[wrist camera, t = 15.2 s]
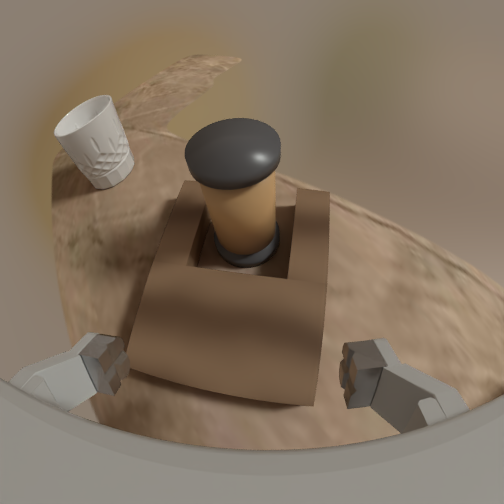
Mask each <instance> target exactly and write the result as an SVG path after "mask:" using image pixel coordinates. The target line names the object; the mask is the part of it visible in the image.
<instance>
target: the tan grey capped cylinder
mask: <svg viewBox="0 0 504 504" xmlns="http://www.w3.org/2000/svg"><path fill="white" fill-rule="evenodd" d="M280 149H281V142H280V138H279V135H278V134H277V132H276V131H275V130H274V129H273V128H272V127H271V126H269V125H267V124H266V123H263V122H260V121H258V120H253V119H247V118H233V119H226V120H222V121H218V122H215V123H212V124H210V125H208V126H206V127H204V128H202V129H201V130H199V131H198V132H197V133H196V134H195V135H193V136H192V138H191V139H190V140H189V142H188V143H187V145H186V148H185V159H186V162H187V165H188V168H189V171H190V173H191V175H192V176H193V178H194V179H195V180H196V181H198V182H199V183H200V187H201V190H202V193H203V196H204V199H205V202H206V205H207V208H208V211H209V214H210V217H211V220H212V223H213V226H214V229H215V233H214V240H215V244H216V247H217V250H218V252H219V254H220V255H221V257H222V258H223V259H224V260H225V261H226V262H228V263H229V264H232V265H234V266H237V267H242V268H251V267H256V266H259V265H261V264H263V263H265V262H267V261H268V260H269V259H270V258H271V257H272V256H273V255H274V254H275V252H276V251H277V248H278V246H279V235H280V232H279V227H278V224H277V222H276V209H275V169H276V168H277V166H278V164H279V162H280V155H281V154H280V153H281V152H280Z"/></svg>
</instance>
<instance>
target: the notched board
mask: <svg viewBox="0 0 504 504" xmlns="http://www.w3.org/2000/svg"><path fill="white" fill-rule="evenodd" d="M329 215H330V192H326V191H318V190H309V189H300V188H297V197H296V207H295V217H294V226H293V236H292V244H291V253H290V262H289V270H288V278H287V279H283V278H274V277H266V276H258V275H250V274H243V273H235V272H227V271H220V270H213V269H205V268H198V267H197V265H198V262H199V258H200V254H201V251H202V248H203V244H204V241H205V237H206V234H207V230H208V227H209V224H210V221H211V217H210V214H209V211H208V208H207V205H206V202H205V199H204V196H203V193H202V190H201V187H200V183H199V182H198V181H184V183H183V185H182V188H181V190H180V192H179V195H178V197H177V200H176V202H175V205H174V207H173V210H172V212H171V215H170V217H169V220H168V222H167V225H166V228H165V230H164V233H163V236H162V238H161V241H160V244H159V247H158V249H157V252H156V255H155V258H154V261H153V264H152V267H151V270H150V272H149V276H148V279H147V282H146V285H145V288H144V291H143V294H142V298H141V301H140V304H139V308H138V311H137V314H136V318H135V321H134V325H133V329H132V332H131V336H130V340H129V344H128V348H127V352H126V354H127V355H128V357H129V360H130V368H131V369H134V370H137V371H140V372H143V373H146V374H149V375H152V376H155V377H159V378H162V379H165V380H169V381H172V382H176V383H180V384H183V385H187V386H191V387H195V388H199V389H203V390H208V391H212V392H217V393H222V394H227V395H232V396H237V397H243V398H248V399H255V400H261V401H268V402H276V403H284V404H293V405H303V406H314V399H315V393H316V386H317V379H318V372H319V364H320V356H321V347H322V338H323V328H324V317H325V305H326V292H327V275H328V255H329Z"/></svg>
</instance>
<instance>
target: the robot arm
mask: <svg viewBox="0 0 504 504" xmlns="http://www.w3.org/2000/svg"><path fill="white" fill-rule="evenodd" d="M124 348H125V345H124V342H123V339H122V338H120V337H117V336H111V335H105V334H99V333H93V332H89V333H87V334H86V335H85V336H84V337H83V338H82V339H81V340H80V341H79V342H78V343H77V344H76V345H75V346H74V347H73V348H72V349H71V350H70V351H69V352H63V353H61V354H58V355H56V356H53V357H50V358H47V359H45V360H42V361H40V362H37V363H34V364H32V365H29V366H26V367H24V368H22V369H21V370H20V371H19V372H18V373H17V374H16V375H15V376H14V377H13V378H12V379H11V380H10V381H9V382H6V381H4V380H3V379H1V378H0V504H504V394H503V395H501V396H499V397H497V398H495V399H493V400H491V401H489V402H487V403H485V404H483V405H481V406H479V407H477V408H474V409H472V410H470V409H469V408H468V406H467V405H466V403H465V402H464V400H463V399H462V397H461V396H460V394H459V393H458V391H457V390H456V389H455V388H453V387H451V386H449V385H447V384H445V383H443V382H441V381H439V380H437V379H435V378H433V377H431V376H429V375H427V374H425V373H423V372H421V371H419V370H417V369H415V368H413V367H411V366H409V365H407V364H401V362H400V361H399V359H398V357H397V356H396V354H395V352H394V351H393V349H392V348H391V346H390V344H389V343H388V341H387V339H385V338H379V339H372V340H367V341H358V342H348V343H344V345H343V350H342V354H343V357H344V359H343V360H342V361H341V362H340V368H339V379H340V384H341V387H342V388H344V389H345V392H344V399H345V402H346V406H347V409H351V408H360V407H367V406H371V408H372V409H373V410H374V411H375V412H377V413H378V414H379V415H380V416H381V417H382V418H384V419H385V420H386V421H387V422H388V423H390V424H391V425H392V426H393V427H394V428H395V429H397V430H398V431H399V432H400V433H401V434H398V435H394V436H389V437H385V438H380V439H376V440H370V441H365V442H359V443H353V444H347V445H339V446H331V447H322V448H310V449H294V450H243V449H227V448H215V447H206V446H197V445H190V444H183V443H177V442H171V441H166V440H161V439H156V438H151V437H147V436H142V435H138V434H134V433H130V432H126V431H123V430H119V429H116V428H112V427H109V426H106V425H103V424H100V423H97V422H94V421H91V420H88V419H85V418H82V417H80V416H77V415H74V414H72V413H69V412H68V411H70V410H71V409H73V408H74V407H76V406H78V405H79V404H81V403H82V402H84V401H85V400H87V399H88V398H90V397H91V396H93V395H95V394H96V393H97V392H100V393H104V394H109V395H113V396H115V394H116V393H117V391H118V389H119V388H120V386H121V380H123V379H124V378H126V377H127V375H128V374H129V370H130V360H129V357H128V355H127V354H126V353H125V352H124V351H123V350H124Z"/></svg>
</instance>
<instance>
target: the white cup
mask: <svg viewBox="0 0 504 504" xmlns="http://www.w3.org/2000/svg"><path fill="white" fill-rule="evenodd" d="M54 135H55V137H56V138H57V140H58V141H59V143H60V144H61V145H62V147H63V148H64V150H65V151H66V152H67V154H68V155H69V156H70V158H71V159H72V161H73V162H74V163H75V165H76V166H77V167H78V168H79V169H80V171H81V172H82V173H83V174H84V175H85V176H86V177H87V178H88V179H89V181H90V182H91V183H92V185H93V186H94V187H95V188H96V189H107V188H110V187H113V186H115V185H116V184H118V183H119V182H121V181H123V180H124V179H125V178H126V176H127V175H128V174H129V173H130V172H131V170H132V168H133V166H134V157H133V154H132V152H131V150H130V147H129V144H128V141H127V138H126V136H125V133H124V130H123V127H122V125H121V122H120V120H119V117H118V114H117V112H116V109H115V107H114V104H113V101H112V98H111V97H110V96H109V95H101V96H97V97H95V98H92V99H90V100H87V101H86V102H84V103H82V104H80V105H79V106H77V107H76V108H74V109H73V110H72V111H70V112H69V113H68V114H67V115H66V116H65V117H64V118H63V119H62V120H61V121H60V122H59V124H58V125H57V126H56V128H55V131H54Z"/></svg>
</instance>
